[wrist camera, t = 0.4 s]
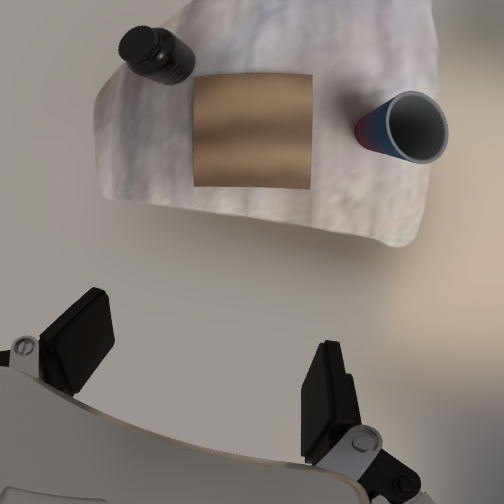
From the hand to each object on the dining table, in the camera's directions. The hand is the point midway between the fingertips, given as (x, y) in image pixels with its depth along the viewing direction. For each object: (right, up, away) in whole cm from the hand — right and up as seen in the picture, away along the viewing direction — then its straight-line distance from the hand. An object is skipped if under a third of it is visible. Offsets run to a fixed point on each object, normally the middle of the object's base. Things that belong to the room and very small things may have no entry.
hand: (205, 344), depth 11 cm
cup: (+18, +20, +22) cm, 35 cm away
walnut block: (+3, +20, +25) cm, 32 cm away
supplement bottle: (-9, +31, +22) cm, 39 cm away
